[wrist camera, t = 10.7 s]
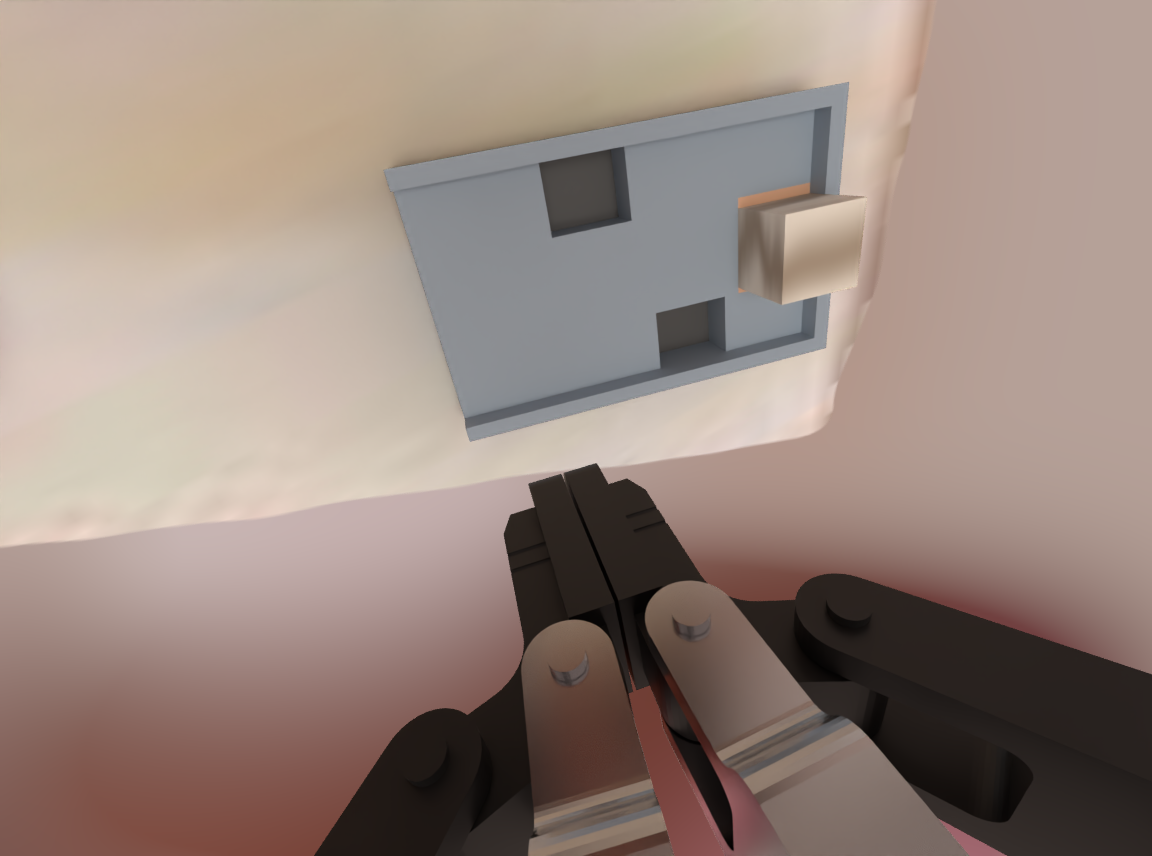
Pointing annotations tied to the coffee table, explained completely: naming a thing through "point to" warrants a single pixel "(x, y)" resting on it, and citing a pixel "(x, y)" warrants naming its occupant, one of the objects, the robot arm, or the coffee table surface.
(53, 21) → the coffee table surface
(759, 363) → the track
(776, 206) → the cream cube
